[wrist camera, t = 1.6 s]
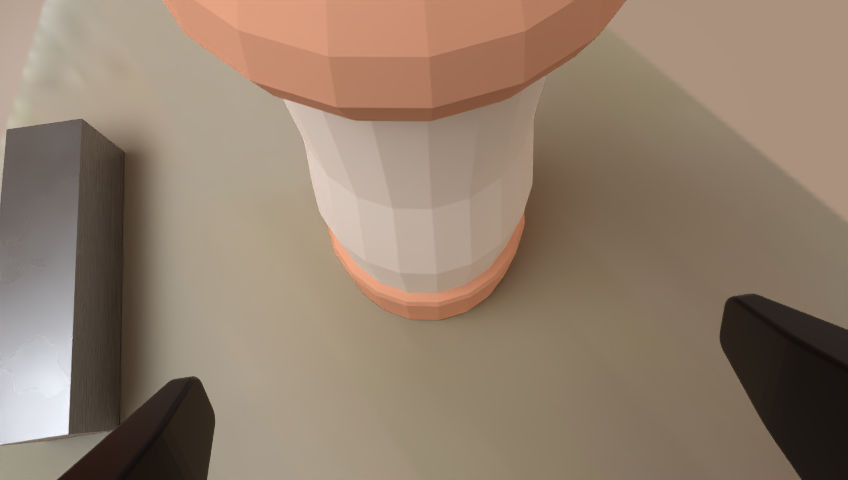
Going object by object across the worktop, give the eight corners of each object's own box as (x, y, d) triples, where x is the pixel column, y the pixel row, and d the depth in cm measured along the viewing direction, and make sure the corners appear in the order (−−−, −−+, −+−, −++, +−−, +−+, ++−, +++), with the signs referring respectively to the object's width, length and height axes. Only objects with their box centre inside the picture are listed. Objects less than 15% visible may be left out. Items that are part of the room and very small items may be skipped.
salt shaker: (430, 126, 24) (397, -712, 6) (550, 237, 23) (1004, -451, 4) (307, 232, 23) (-209, -416, 5) (424, 359, 21) (321, 109, 3)
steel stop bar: (119, 429, 21) (68, 434, 18) (42, 441, 21) (-21, 447, 18) (124, 152, 24) (81, 118, 22) (57, 161, 24) (6, 129, 22)
